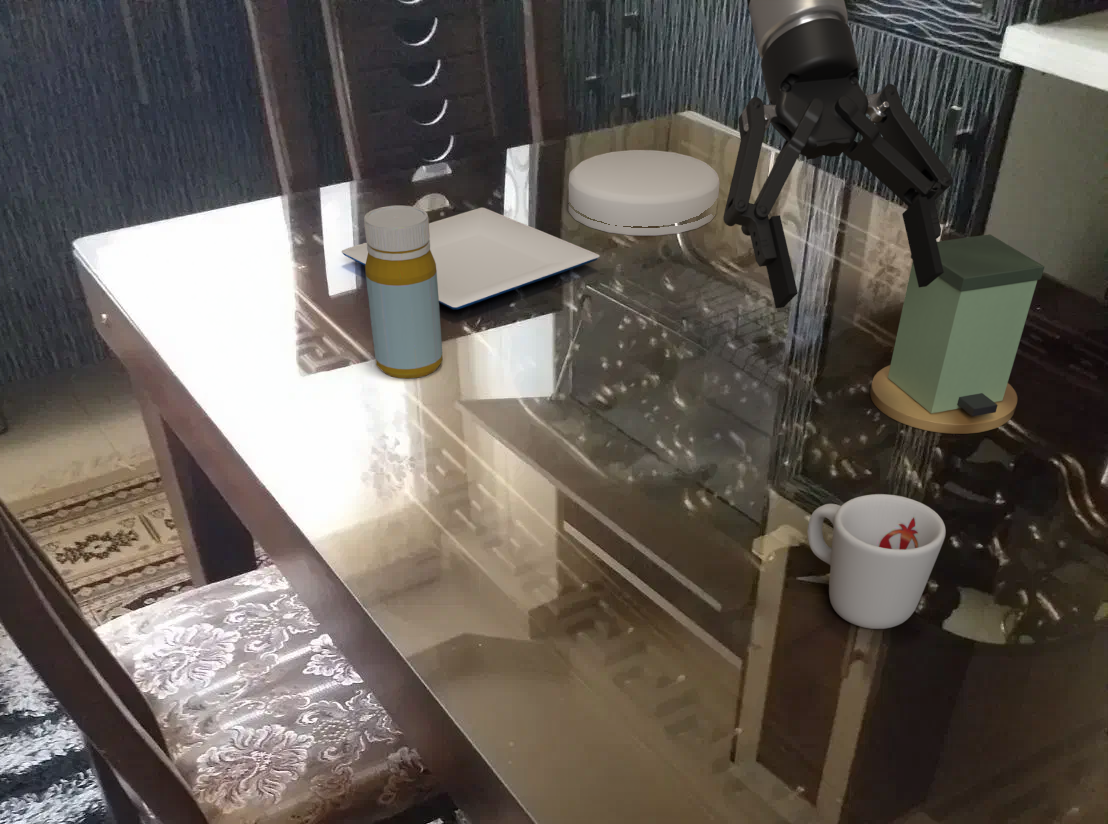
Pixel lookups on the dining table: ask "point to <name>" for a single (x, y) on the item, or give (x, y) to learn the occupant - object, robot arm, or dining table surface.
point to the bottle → (402, 292)
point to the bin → (964, 326)
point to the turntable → (951, 421)
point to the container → (642, 192)
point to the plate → (490, 256)
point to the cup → (877, 556)
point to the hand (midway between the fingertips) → (860, 290)
